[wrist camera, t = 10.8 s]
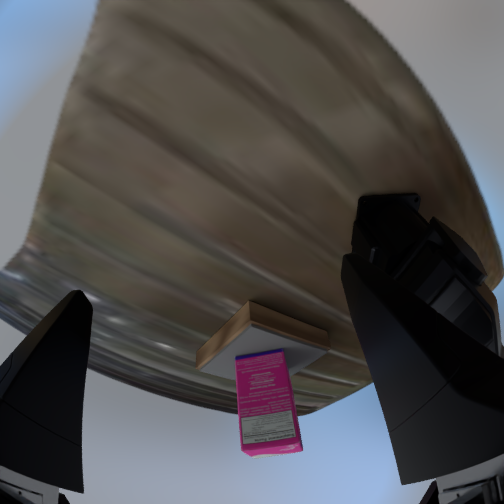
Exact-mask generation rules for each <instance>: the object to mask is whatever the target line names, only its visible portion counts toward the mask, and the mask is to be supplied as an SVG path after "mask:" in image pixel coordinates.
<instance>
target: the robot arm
mask: <svg viewBox="0 0 504 504" xmlns="http://www.w3.org/2000/svg"><path fill="white" fill-rule="evenodd" d="M415 198H416V199H415ZM420 200H421V198H420V196H419V195H418V194H417V193H409V194H389V195H373V196H362V197H361V198H360V199H359V200H358V207H357V216H356V220H355V221H354V226H353V234H352V241H351V245H352V253H349V254H345V255H344V256H343V261H342V269H341V280H342V284H343V288H344V292H345V295H346V299H347V303H348V307H349V311H350V315H351V318H352V322H353V325H354V328H355V330H356V333H357V336H358V339H359V341H360V344H361V347H362V350H363V352H364V355H365V358H366V361H367V364H368V367H369V370H370V373H371V376H372V379H373V382H374V385H375V388H376V391H377V394H378V398H379V401H380V404H381V407H382V410H383V414H384V418H385V421H386V424H387V428H388V432H389V436H390V439H391V443H392V447H393V451H394V455H395V459H396V463H397V467H398V472H399V476H400V480H401V484H402V485H406V484H411V483H416V482H421V481H425V480H429V479H434V478H436V480H435V481H433V482H432V483H431V485H430V486H429V488H428V490H427V492H426V493H425V495H424V497H423V498H422V500H421V501H420V503H419V504H504V346H503V345H502V342H501V330H500V320H499V313H498V305H497V299H496V297H495V295H494V294H493V293H492V291H491V290H490V289H489V287H488V286H487V285H486V284H485V282H484V280H485V279H486V278H487V277H488V275H487V273H486V271H485V269H484V267H483V265H482V263H481V261H480V259H479V257H478V255H477V253H476V252H475V251H474V250H473V249H472V248H471V247H470V246H469V245H468V244H467V243H466V242H465V240H464V239H463V238H462V237H461V236H459V235H458V234H457V233H455V232H454V231H453V230H451V229H450V228H449V227H447V226H446V225H445V224H443V223H442V222H441V221H439V220H438V219H436V218H435V217H432V219H431V220H430V222H429V223H430V224H429V223H428V222H427V221H426V220H425V219H424V218H423V217H422V216H421V215H420V214H419V213H418V209H419V205H420ZM364 201H366V202H365V203H364V204H363V202H364ZM92 315H93V307H92V305H91V303H90V302H89V300H88V299H87V297H86V296H85V294H84V293H83V291H81V290H73V291H71V292H69V293H68V294H67V295H66V296H65V297H64V298H63V299H62V300H61V301H60V302H59V303H58V304H57V305H56V306H55V307H54V308H53V309H52V310H51V311H50V312H49V313H48V314H47V315H46V316H45V317H44V318H43V319H42V320H41V321H40V322H39V323H38V324H37V325H36V327H35V328H34V329H33V330H32V331H31V332H30V333H29V334H28V335H27V336H26V337H25V338H24V340H23V341H22V342H21V343H20V344H19V345H18V346H17V347H16V349H15V350H14V351H13V352H12V353H11V354H10V355H9V357H8V358H7V359H6V360H5V361H4V362H3V364H2V365H1V366H0V504H70V503H69V501H68V500H67V498H66V497H65V495H64V494H62V493H59V488H63V489H66V490H70V491H74V492H78V493H84V487H83V486H84V485H83V469H82V447H81V446H82V417H83V400H84V389H85V379H86V371H87V363H88V356H89V349H90V337H91V325H92Z"/></svg>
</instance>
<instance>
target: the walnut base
mask: <svg viewBox="0 0 504 504" xmlns="http://www.w3.org/2000/svg"><path fill="white" fill-rule="evenodd" d="M281 348H282V349H283V350H284V355H285V360H286V363H287V367H288V370H289V374H290V376H292V375H293V374H295V373H296V372H298V371H300V370H301V369H303V368H304V367H306V366H307V365H309V364H310V363H312V362H313V361H315V360H317V359H318V358H319V357H321V356H322V355H324V354H325V353H327V352H328V350H330V349H331V345H330V341H329V338H328V334H327V331H324V330H322V329H319V328H316V327H314V326H311V325H309V324H306V323H303V322H301V321H298V320H296V319H293V318H291V317H288V316H286V315H283V314H281V313H278V312H276V311H273V310H271V309H268V308H266V307H263V306H261V305H259V304H256V303H254V302H251V301H248V302H247V303H246V304H245V305H244V306H243V307H242V308H241V309H240V310H239V311H238V312H237V313H236V314H235V315H234V316H233V317H232V318H231V319H230V320H229V321H228V322H226V323H225V324H224V325H223V326H222V327H221V328H220V329H219V330H218V331H217V332H216V333H215V334H214V335H213V336H212V337H211V338H210V339H209V340H208V341H207V342H206V343H205V344H204V345H203V346H202V347H201V348H200V349H199V350H198V351H197V354H196V369H199V370H200V371H202V372H205V373H209V374H212V375H216V376H220V377H224V378H228V379H232V380H236V370H235V356H240V355H247V354H253V353H259V352H265V351H270V350H276V349H281Z"/></svg>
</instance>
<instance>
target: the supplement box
mask: <svg viewBox="0 0 504 504" xmlns="http://www.w3.org/2000/svg"><path fill="white" fill-rule="evenodd" d="M235 370H236V386H237V401H238V415H239V428H240V441H241V450H242V451H243V452H244V453H246V454H248V455H249V456H251V457H253V458H255V459H256V458H263V457H270V456H276V455H283V454H289V453H295V452H301V451H303V446H302V440H301V434H300V428H299V423H298V417H297V412H296V406H295V401H294V395H293V389H292V384H291V379H290V374H289V370H288V367H287V363H286V360H285V355H284V350H283V349H282V348H281V349H276V350H270V351H265V352H259V353H253V354H247V355H240V356H235Z"/></svg>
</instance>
